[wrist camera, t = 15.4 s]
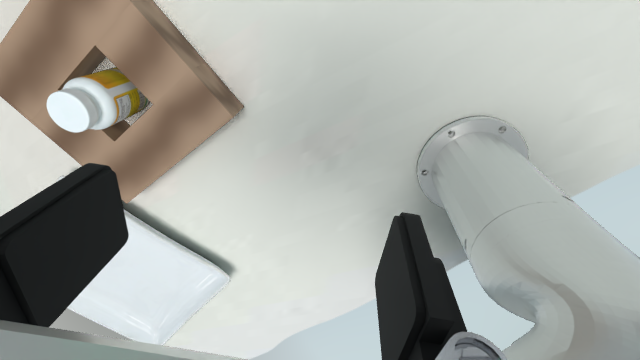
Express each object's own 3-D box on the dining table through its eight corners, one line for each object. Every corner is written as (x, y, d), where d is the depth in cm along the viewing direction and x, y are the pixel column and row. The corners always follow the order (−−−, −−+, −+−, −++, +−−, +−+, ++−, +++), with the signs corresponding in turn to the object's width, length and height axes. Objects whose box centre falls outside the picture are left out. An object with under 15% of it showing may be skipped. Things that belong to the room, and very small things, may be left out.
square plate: (27, 264, 56) (6, 281, 52) (79, 160, 44) (57, 174, 41) (164, 336, 63) (154, 355, 60) (240, 263, 52) (232, 282, 48)
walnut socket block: (244, 106, 38) (233, 117, 35) (143, 188, 45) (126, 203, 42) (104, -56, 31) (73, -64, 28) (11, 69, 38) (-23, 76, 35)
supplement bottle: (160, 100, 39) (108, 128, 30) (127, 117, 40) (69, 147, 32) (131, 57, 36) (66, 74, 28) (97, 77, 38) (26, 98, 30)
